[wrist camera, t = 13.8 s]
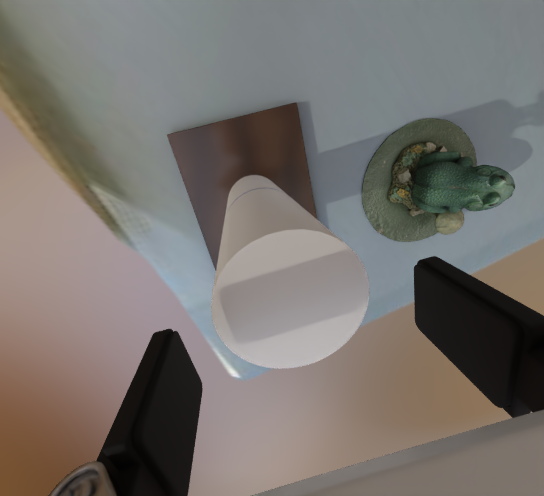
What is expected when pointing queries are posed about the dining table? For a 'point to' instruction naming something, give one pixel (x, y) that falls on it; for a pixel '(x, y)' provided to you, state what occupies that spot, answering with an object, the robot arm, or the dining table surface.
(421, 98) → the dining table surface
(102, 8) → the dining table surface
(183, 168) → the board
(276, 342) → the cylindrical container
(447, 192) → the frog figurine
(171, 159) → the dining table surface
